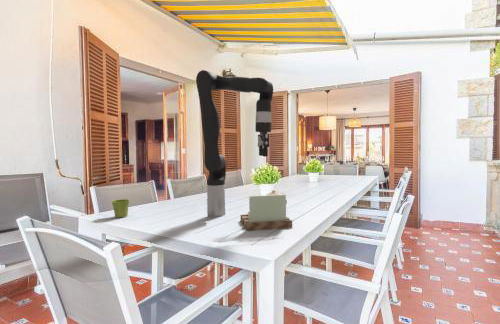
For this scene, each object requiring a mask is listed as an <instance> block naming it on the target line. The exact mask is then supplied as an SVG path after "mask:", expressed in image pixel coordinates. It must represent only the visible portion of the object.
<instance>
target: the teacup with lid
mask: <svg viewBox="0 0 500 324" xmlns="http://www.w3.org/2000/svg"><path fill="white" fill-rule="evenodd" d="M266 195H282V194H281V193H279V192H277V190H275V189H272V190H271V191H270V192H268V193H267V194H266ZM287 204H288V201H287V199H286V205H287Z"/></svg>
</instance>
